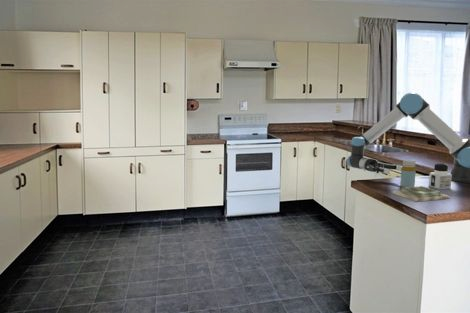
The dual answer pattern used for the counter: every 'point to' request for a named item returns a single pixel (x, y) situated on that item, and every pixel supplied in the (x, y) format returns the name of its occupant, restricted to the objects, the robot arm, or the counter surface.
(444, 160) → the counter surface
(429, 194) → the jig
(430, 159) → the counter surface
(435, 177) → the container
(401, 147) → the counter surface
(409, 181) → the bottle
